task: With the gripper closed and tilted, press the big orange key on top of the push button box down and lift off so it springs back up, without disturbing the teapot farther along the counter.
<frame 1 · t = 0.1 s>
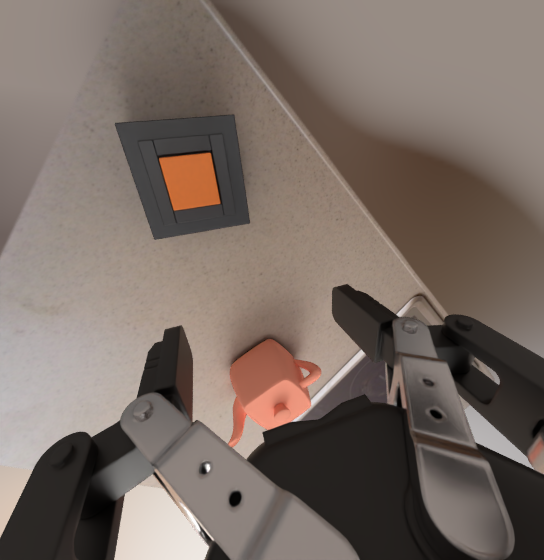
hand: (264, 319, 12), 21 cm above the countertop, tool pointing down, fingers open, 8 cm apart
push button box: (192, 178, 27), on the countertop
key: (191, 181, 20), point 8 cm above the countertop, slide at 0.1 cm
teapot: (260, 366, 43), on the countertop
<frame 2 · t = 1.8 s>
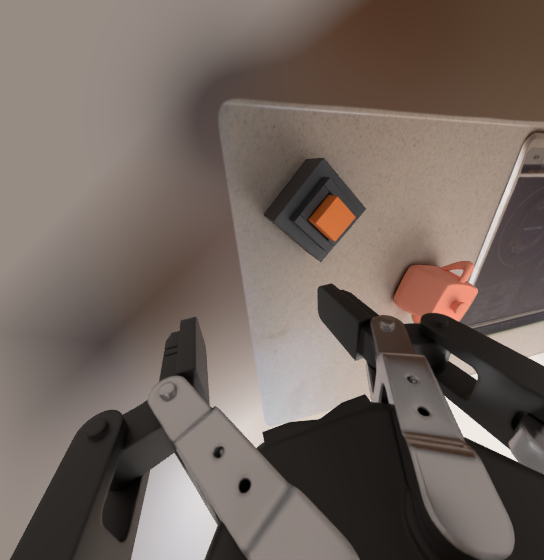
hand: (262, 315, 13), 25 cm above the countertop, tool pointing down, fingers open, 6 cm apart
push button box: (306, 209, 37), on the countertop
key: (331, 218, 30), point 8 cm above the countertop, slide at 0.1 cm
teapot: (412, 287, 52), on the countertop
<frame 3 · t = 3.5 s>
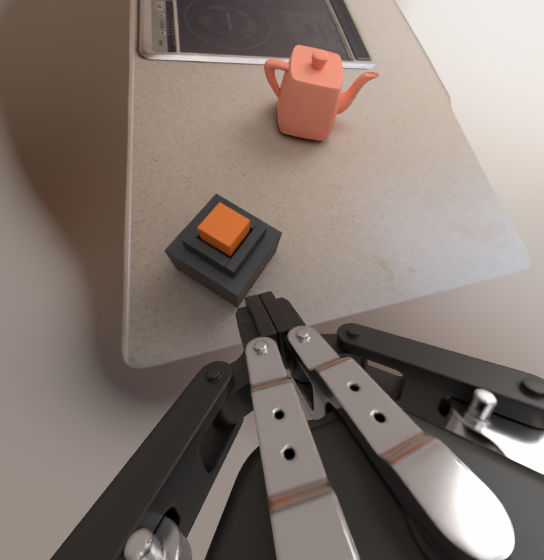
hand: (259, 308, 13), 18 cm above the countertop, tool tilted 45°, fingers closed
push button box: (228, 259, 33), on the countertop
key: (224, 229, 26), point 8 cm above the countertop, slide at 0.1 cm
teapot: (306, 122, 45), on the countertop
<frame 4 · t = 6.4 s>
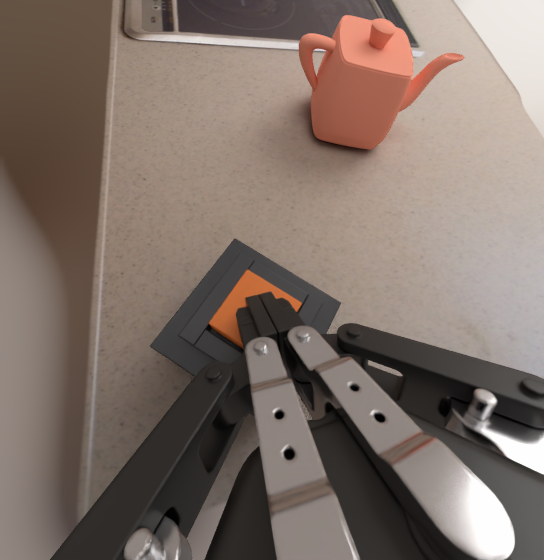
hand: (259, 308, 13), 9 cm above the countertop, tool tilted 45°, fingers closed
push button box: (250, 332, 22), on the countertop
key: (255, 316, 15), point 8 cm above the countertop, slide at -0.1 cm, touching gripper
teapot: (347, 125, 34), on the countertop
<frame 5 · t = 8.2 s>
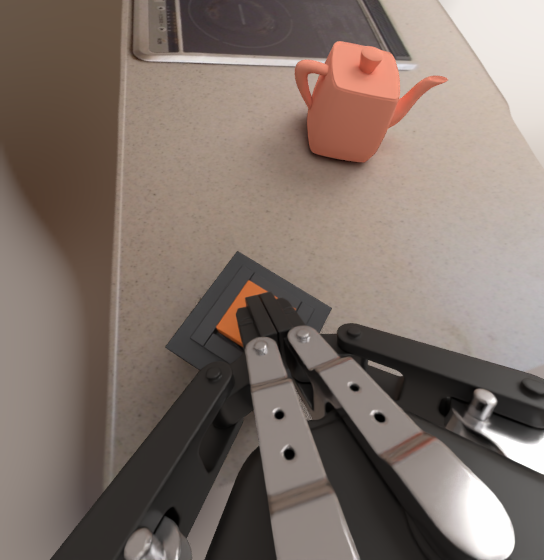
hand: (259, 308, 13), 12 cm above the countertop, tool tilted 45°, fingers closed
push button box: (251, 333, 24), on the countertop
key: (256, 320, 17), point 8 cm above the countertop, slide at 0.1 cm
teapot: (341, 139, 36), on the countertop
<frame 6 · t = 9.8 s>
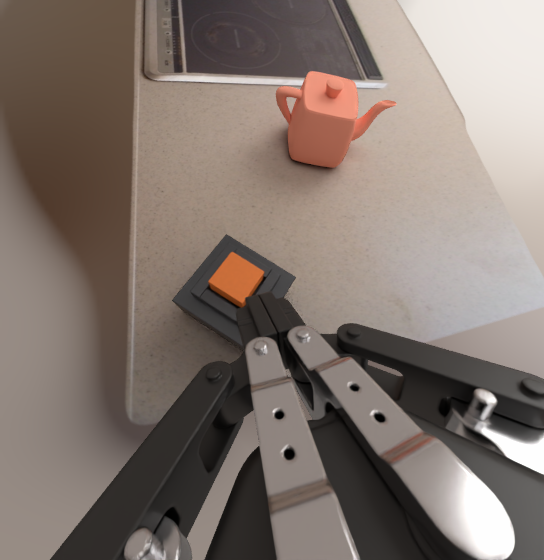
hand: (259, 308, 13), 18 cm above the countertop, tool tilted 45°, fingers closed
push button box: (237, 299, 31), on the countertop
key: (237, 280, 24), point 8 cm above the countertop, slide at 0.1 cm
teapot: (317, 147, 43), on the countertop
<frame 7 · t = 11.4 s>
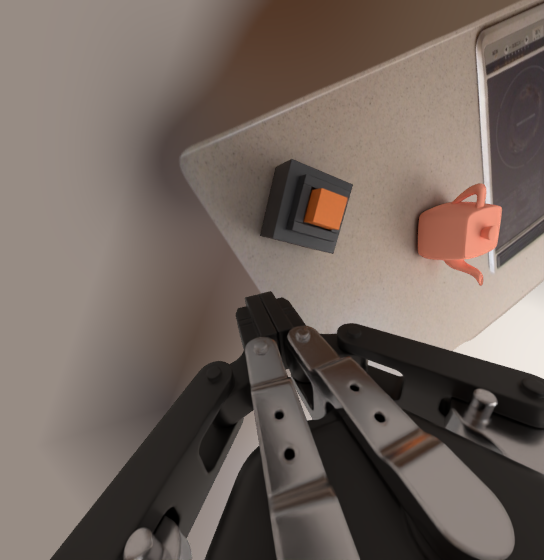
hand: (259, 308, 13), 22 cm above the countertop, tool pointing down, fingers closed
push button box: (296, 211, 36), on the countertop
key: (325, 209, 29), point 8 cm above the countertop, slide at 0.1 cm
teapot: (432, 233, 49), on the countertop
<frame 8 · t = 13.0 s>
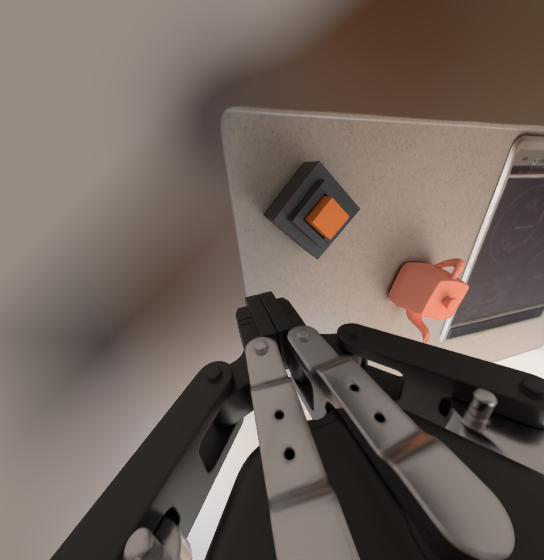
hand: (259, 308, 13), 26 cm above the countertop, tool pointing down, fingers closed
push button box: (304, 209, 39), on the countertop
key: (327, 217, 32), point 8 cm above the countertop, slide at 0.1 cm
teapot: (407, 284, 54), on the countertop
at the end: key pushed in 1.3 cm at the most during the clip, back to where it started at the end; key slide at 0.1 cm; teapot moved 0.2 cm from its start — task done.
